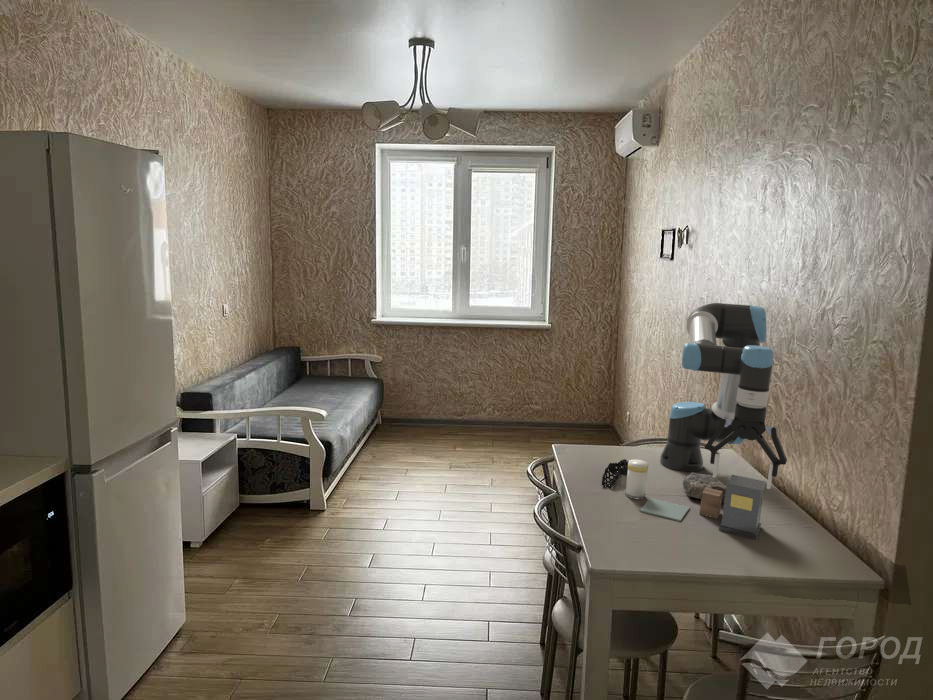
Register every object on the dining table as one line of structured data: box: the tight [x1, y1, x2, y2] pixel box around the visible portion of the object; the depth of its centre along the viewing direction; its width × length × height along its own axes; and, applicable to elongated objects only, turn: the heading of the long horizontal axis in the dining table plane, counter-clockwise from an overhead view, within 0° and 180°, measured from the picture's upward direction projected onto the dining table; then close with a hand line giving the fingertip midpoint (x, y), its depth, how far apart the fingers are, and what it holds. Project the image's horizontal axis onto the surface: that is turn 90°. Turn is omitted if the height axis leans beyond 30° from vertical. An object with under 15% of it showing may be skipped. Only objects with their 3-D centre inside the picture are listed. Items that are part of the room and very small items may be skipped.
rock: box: [682, 471, 726, 503], centre depth 217 cm, size 13×6×15 cm
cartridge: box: [624, 459, 649, 499], centre depth 214 cm, size 6×6×11 cm
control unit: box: [718, 474, 766, 540], centre depth 192 cm, size 10×10×14 cm
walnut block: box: [699, 488, 723, 519], centre depth 203 cm, size 5×5×7 cm
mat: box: [639, 497, 690, 522], centre depth 204 cm, size 12×12×1 cm
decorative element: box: [601, 458, 629, 489], centre depth 229 cm, size 22×5×6 cm, turn 151°
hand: (741, 481), depth 180 cm, fingers open, 13 cm apart
